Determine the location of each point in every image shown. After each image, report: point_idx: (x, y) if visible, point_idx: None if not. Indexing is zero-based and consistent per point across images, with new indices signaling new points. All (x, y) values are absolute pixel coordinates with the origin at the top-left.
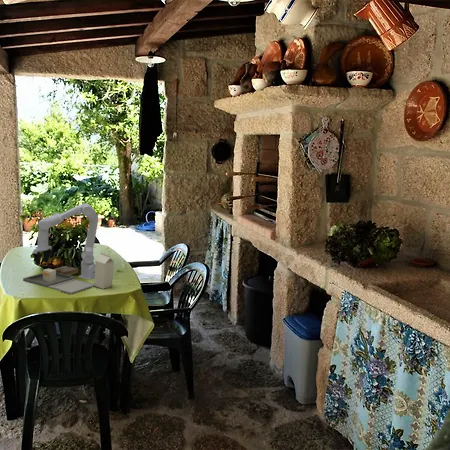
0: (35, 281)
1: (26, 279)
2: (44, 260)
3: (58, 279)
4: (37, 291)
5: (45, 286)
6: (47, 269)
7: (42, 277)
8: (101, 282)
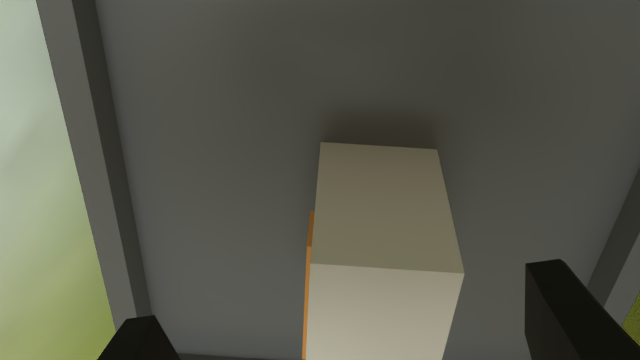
0: (93, 224)
1: (45, 21)
2: (541, 312)
3: None
4: (3, 344)
5: None
6: (385, 305)
7: (424, 36)
8: None
